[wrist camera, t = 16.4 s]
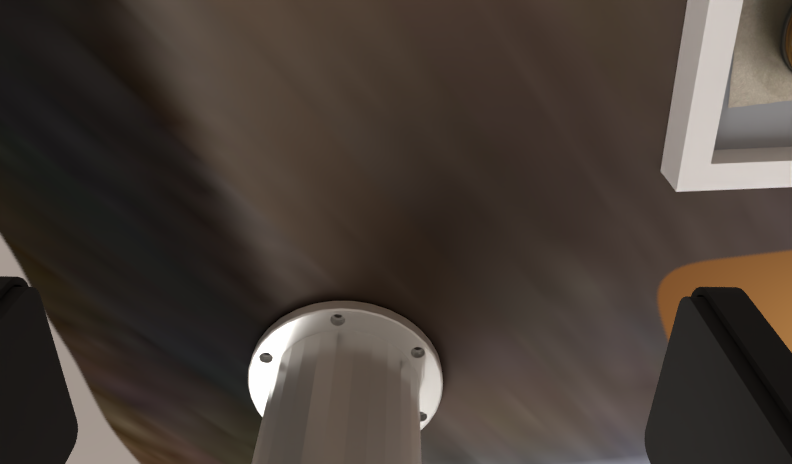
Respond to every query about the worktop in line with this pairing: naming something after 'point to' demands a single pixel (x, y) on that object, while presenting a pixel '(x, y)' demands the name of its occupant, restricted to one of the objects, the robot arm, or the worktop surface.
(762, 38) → the condiment
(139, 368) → the worktop surface
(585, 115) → the worktop surface
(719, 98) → the housing
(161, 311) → the worktop surface
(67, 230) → the worktop surface
